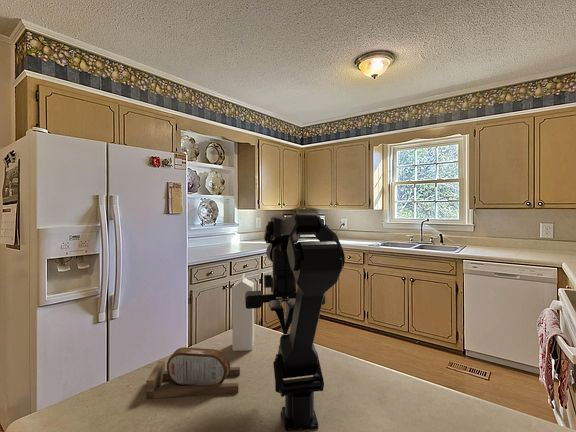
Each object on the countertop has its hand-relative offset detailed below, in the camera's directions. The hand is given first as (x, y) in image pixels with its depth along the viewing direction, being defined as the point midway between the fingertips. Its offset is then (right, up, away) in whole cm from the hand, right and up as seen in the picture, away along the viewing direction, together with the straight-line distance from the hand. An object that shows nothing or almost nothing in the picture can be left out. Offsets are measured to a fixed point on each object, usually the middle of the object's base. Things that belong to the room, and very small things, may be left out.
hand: (284, 333), depth 75 cm
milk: (-13, -12, +20) cm, 27 cm away
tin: (-21, -12, -1) cm, 24 cm away
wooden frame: (-20, -12, -1) cm, 24 cm away
